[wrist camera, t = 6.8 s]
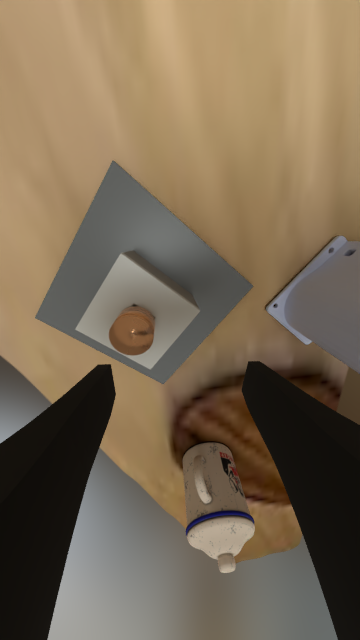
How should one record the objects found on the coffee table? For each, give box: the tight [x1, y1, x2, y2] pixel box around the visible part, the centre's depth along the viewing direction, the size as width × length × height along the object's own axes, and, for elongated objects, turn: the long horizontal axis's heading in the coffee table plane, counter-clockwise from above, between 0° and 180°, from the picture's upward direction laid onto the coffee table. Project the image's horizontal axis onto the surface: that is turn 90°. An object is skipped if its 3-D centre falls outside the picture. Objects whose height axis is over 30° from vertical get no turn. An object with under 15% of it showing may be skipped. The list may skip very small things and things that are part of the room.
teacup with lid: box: [183, 442, 255, 573], centre depth 24 cm, size 12×9×12 cm
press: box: [35, 161, 253, 384], centre depth 16 cm, size 16×16×5 cm
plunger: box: [109, 303, 155, 356], centre depth 14 cm, size 5×5×6 cm
